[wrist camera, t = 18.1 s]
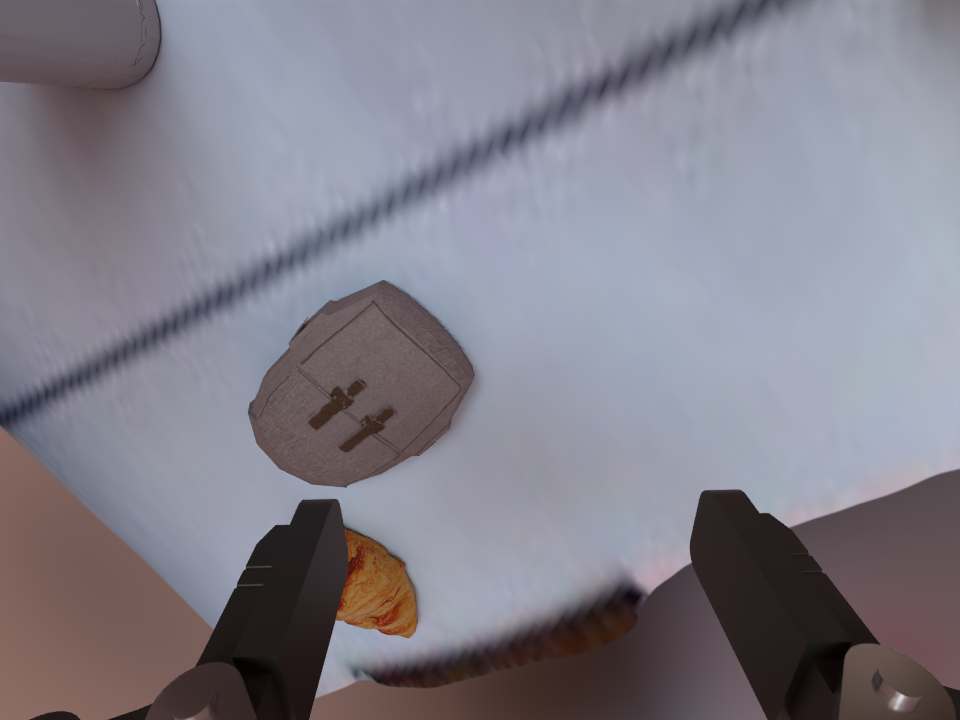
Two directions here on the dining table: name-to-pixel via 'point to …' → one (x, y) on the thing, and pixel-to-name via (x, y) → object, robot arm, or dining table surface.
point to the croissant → (376, 590)
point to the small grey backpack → (360, 389)
